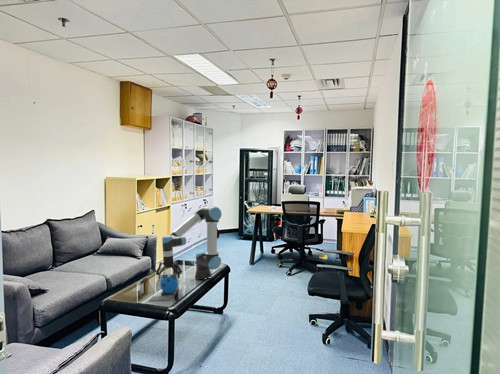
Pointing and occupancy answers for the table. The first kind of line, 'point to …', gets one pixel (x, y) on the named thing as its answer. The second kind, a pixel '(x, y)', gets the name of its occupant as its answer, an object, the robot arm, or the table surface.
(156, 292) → the table surface
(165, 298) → the rubber mat
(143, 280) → the table surface
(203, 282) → the table surface
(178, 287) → the clock stand
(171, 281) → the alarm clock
